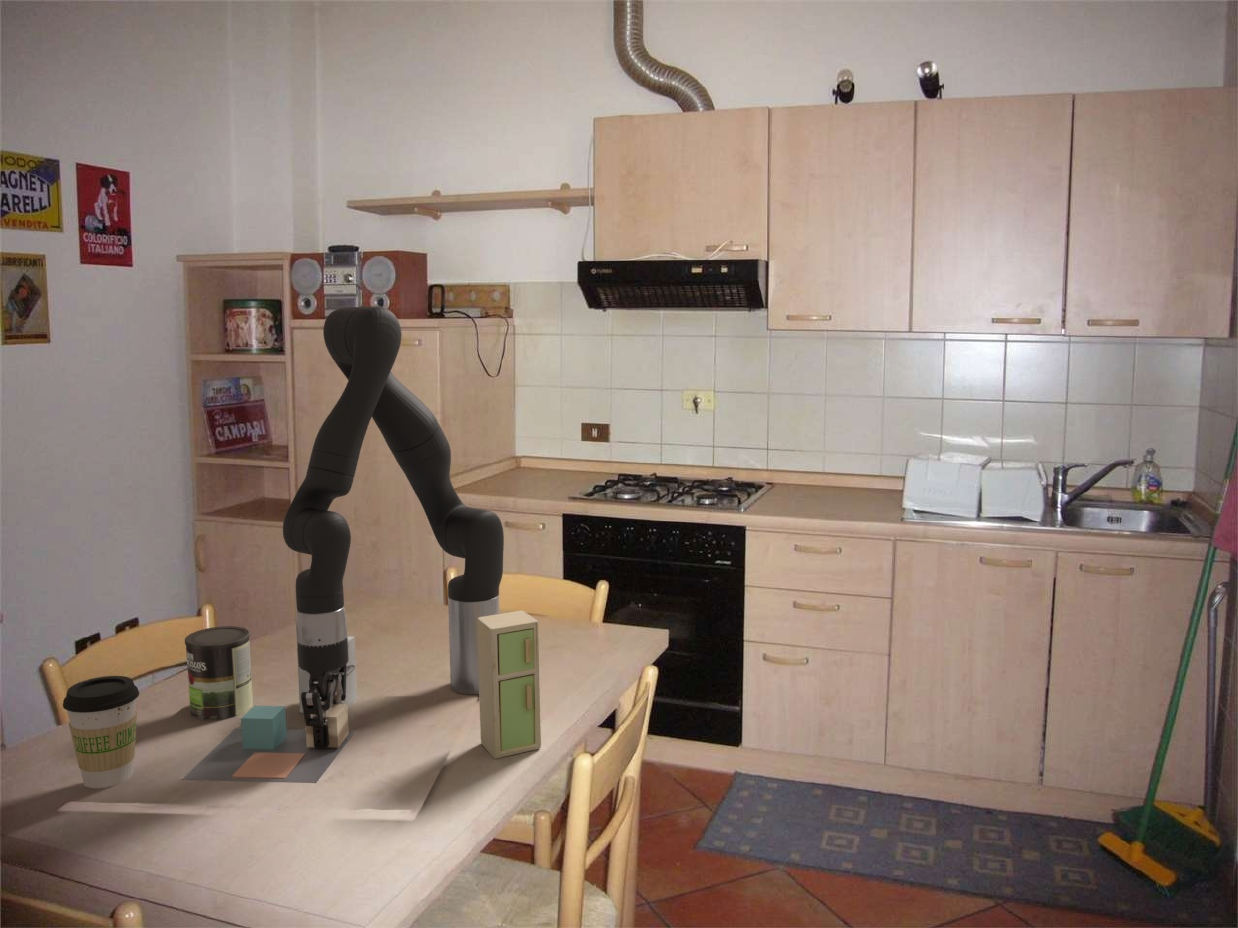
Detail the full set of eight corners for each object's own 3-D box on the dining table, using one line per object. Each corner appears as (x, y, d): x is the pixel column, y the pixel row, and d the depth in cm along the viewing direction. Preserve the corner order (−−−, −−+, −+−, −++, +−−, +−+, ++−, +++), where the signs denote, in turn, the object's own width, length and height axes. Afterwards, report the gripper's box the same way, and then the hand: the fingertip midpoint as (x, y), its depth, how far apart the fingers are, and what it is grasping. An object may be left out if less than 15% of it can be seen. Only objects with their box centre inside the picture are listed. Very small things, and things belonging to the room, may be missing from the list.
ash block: (348, 733, 158) (347, 704, 157) (338, 747, 153) (336, 716, 152) (318, 733, 158) (316, 703, 157) (306, 746, 153) (304, 716, 152)
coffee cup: (95, 806, 138) (86, 704, 135) (56, 789, 143) (47, 690, 141) (160, 778, 146) (152, 682, 144) (121, 763, 151) (113, 669, 149)
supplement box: (339, 721, 166) (335, 649, 165) (298, 718, 168) (295, 646, 166) (359, 704, 174) (355, 635, 172) (320, 701, 175) (316, 633, 173)
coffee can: (206, 731, 163) (201, 649, 160) (179, 714, 170) (174, 635, 167) (265, 713, 170) (260, 634, 168) (237, 697, 177) (232, 621, 175)
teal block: (286, 735, 158) (285, 706, 158) (274, 749, 153) (272, 718, 153) (256, 735, 159) (254, 705, 158) (242, 748, 154) (241, 718, 153)
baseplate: (356, 736, 160) (356, 729, 160) (316, 788, 143) (316, 781, 142) (236, 733, 162) (235, 727, 161) (182, 785, 144) (181, 778, 144)
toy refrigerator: (495, 761, 151) (492, 629, 148) (479, 743, 158) (475, 616, 154) (543, 751, 155) (541, 621, 152) (525, 733, 161) (523, 609, 158)
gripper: (329, 651, 146) (335, 760, 148) (360, 621, 160) (365, 721, 162) (280, 651, 146) (287, 759, 149) (315, 621, 160) (320, 720, 163)
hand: (328, 738), depth 156 cm, fingers closed on ash block, 5 cm apart
